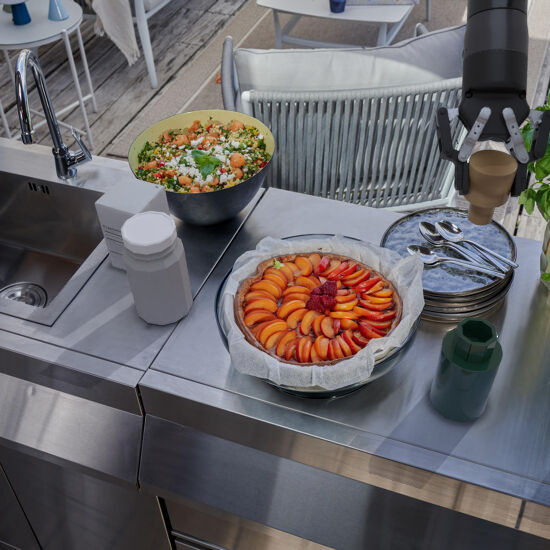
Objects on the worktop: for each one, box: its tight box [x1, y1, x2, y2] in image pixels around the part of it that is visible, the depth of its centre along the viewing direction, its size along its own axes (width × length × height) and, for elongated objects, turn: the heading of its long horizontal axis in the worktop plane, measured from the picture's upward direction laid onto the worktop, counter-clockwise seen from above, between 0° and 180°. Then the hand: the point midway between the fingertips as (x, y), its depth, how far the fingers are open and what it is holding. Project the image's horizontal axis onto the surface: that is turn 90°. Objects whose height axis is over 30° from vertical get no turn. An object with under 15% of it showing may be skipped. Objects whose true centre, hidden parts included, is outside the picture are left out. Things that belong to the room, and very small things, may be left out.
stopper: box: [462, 149, 518, 227], centre depth 79 cm, size 6×6×9 cm
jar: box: [121, 211, 194, 326], centre depth 104 cm, size 10×10×18 cm
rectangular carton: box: [94, 175, 171, 271], centre depth 114 cm, size 9×9×15 cm
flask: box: [429, 316, 504, 423], centre depth 89 cm, size 8×8×16 cm
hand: (489, 194), depth 78 cm, fingers closed on stopper, 5 cm apart
